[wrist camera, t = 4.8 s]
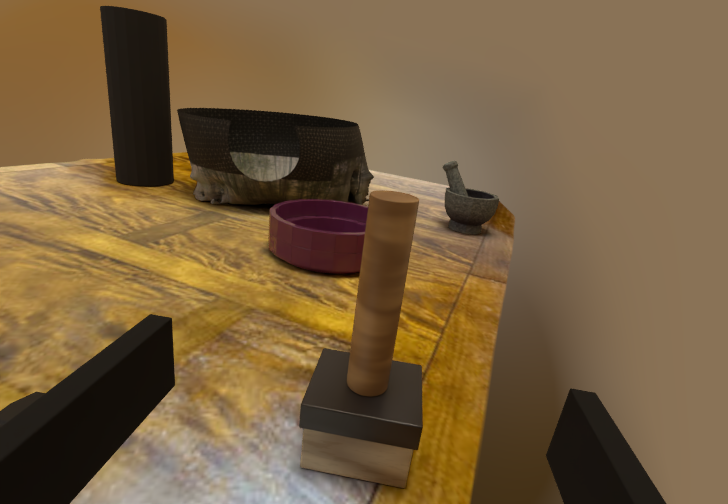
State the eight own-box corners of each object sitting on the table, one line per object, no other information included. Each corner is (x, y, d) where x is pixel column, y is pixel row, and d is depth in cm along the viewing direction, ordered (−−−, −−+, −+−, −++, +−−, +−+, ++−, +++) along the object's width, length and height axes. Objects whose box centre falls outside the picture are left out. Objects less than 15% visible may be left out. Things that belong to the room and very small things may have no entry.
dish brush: (410, 422, 27) (455, 194, 22) (408, 493, 22) (467, 219, 17) (317, 404, 28) (340, 178, 22) (295, 470, 22) (317, 197, 17)
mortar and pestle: (495, 230, 78) (510, 168, 74) (484, 241, 70) (500, 172, 66) (440, 217, 82) (451, 158, 78) (424, 225, 74) (436, 160, 70)
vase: (153, 188, 76) (141, 9, 66) (103, 181, 77) (85, 3, 67) (183, 180, 86) (177, 22, 76) (139, 173, 87) (127, 17, 77)
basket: (348, 234, 64) (359, 129, 58) (150, 200, 69) (144, 100, 63) (376, 200, 90) (386, 125, 85) (232, 177, 95) (232, 104, 90)
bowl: (403, 249, 60) (409, 214, 58) (363, 290, 45) (369, 244, 44) (306, 226, 65) (308, 193, 63) (242, 256, 51) (242, 214, 49)
